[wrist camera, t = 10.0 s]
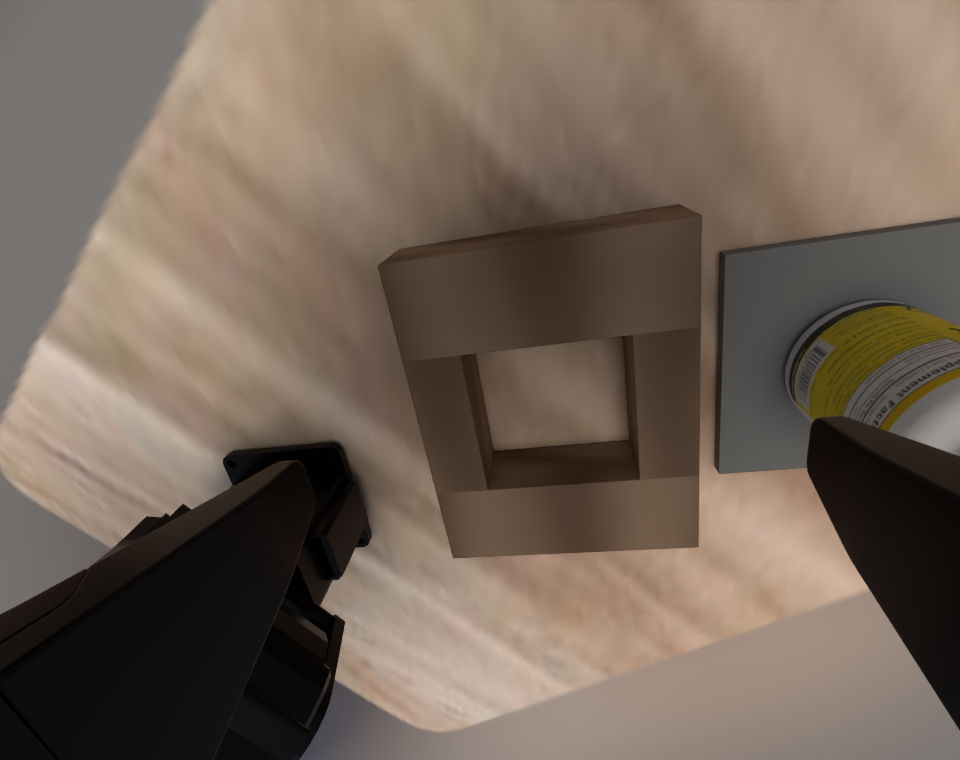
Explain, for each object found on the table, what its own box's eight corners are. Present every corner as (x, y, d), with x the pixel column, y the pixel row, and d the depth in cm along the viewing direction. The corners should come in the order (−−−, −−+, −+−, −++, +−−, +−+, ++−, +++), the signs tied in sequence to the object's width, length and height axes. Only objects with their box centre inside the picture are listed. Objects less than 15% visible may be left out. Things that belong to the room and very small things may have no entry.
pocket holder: (462, 515, 26) (453, 558, 24) (399, 249, 21) (377, 265, 18) (681, 502, 24) (698, 547, 22) (679, 204, 19) (701, 215, 16)
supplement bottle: (953, 376, 20) (1282, 568, 11) (813, 441, 22) (998, 648, 13) (903, 266, 18) (1236, 385, 9) (757, 346, 20) (922, 506, 11)
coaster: (715, 466, 23) (719, 473, 23) (720, 251, 19) (725, 254, 19) (961, 448, 22) (971, 456, 21) (1024, 208, 18) (1039, 210, 17)
